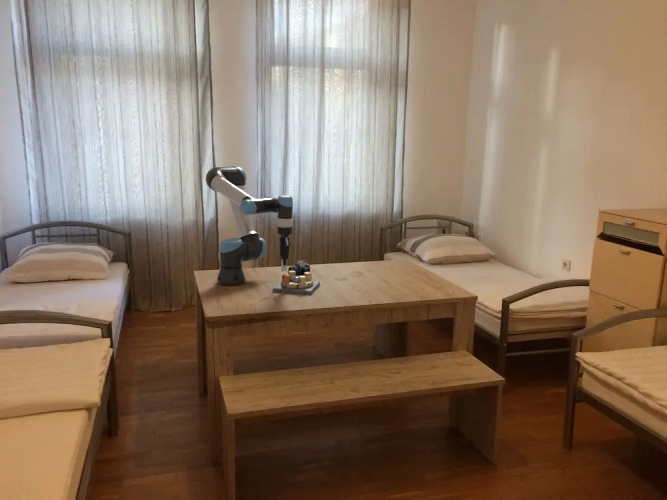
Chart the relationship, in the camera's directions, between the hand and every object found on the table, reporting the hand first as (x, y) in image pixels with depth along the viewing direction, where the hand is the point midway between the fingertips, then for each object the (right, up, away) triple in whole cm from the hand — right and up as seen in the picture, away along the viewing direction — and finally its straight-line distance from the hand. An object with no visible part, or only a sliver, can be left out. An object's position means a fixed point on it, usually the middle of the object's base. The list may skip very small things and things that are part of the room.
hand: (284, 271), depth 298 cm
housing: (+7, -9, +3) cm, 12 cm away
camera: (+6, -5, +24) cm, 26 cm away
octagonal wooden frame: (+7, -7, +2) cm, 10 cm away
